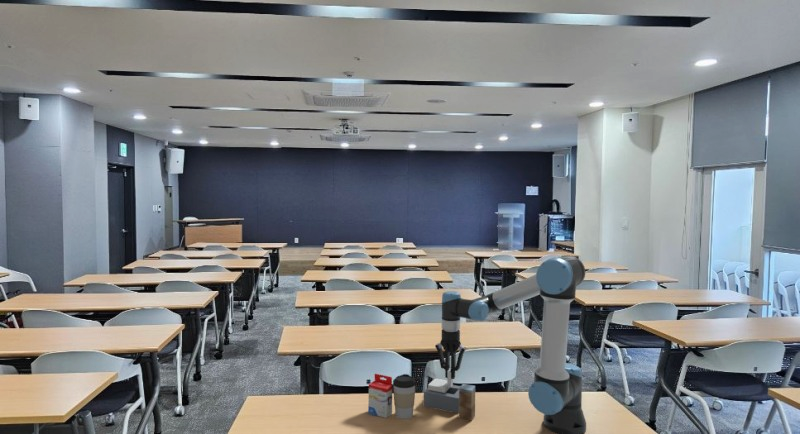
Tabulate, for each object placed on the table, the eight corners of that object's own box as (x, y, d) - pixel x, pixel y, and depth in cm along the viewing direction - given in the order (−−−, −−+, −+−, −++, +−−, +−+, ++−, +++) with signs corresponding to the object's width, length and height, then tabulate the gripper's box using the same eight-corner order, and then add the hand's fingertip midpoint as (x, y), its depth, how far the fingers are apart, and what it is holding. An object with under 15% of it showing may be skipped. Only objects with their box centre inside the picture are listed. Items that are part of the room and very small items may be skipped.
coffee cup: (413, 421, 176) (413, 382, 175) (390, 419, 177) (390, 380, 177) (417, 410, 185) (417, 373, 184) (395, 408, 186) (395, 372, 186)
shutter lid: (451, 385, 194) (451, 380, 194) (445, 392, 187) (445, 387, 187) (434, 382, 197) (434, 377, 197) (428, 389, 190) (428, 384, 190)
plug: (475, 416, 180) (475, 385, 180) (471, 421, 176) (471, 390, 175) (462, 413, 182) (463, 383, 182) (458, 419, 178) (459, 388, 177)
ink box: (367, 413, 182) (367, 377, 181) (374, 408, 186) (374, 373, 186) (386, 418, 178) (386, 381, 177) (392, 413, 182) (392, 376, 182)
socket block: (467, 401, 193) (467, 387, 193) (458, 413, 182) (458, 398, 182) (434, 395, 200) (434, 381, 200) (423, 406, 189) (423, 391, 189)
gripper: (468, 329, 190) (467, 385, 191) (439, 325, 196) (438, 380, 196) (463, 333, 183) (462, 392, 184) (432, 329, 189) (432, 386, 190)
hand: (450, 385), depth 190 cm, fingers closed
